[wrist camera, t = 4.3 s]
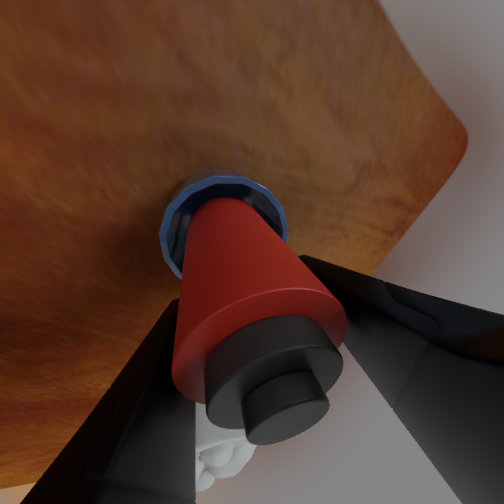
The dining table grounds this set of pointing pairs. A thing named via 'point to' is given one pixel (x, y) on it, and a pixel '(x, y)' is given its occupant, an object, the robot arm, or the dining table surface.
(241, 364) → the bottle
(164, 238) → the cup
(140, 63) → the dining table surface
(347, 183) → the dining table surface
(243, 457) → the lumpy-topped squat cylinder
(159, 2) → the dining table surface
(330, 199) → the dining table surface
